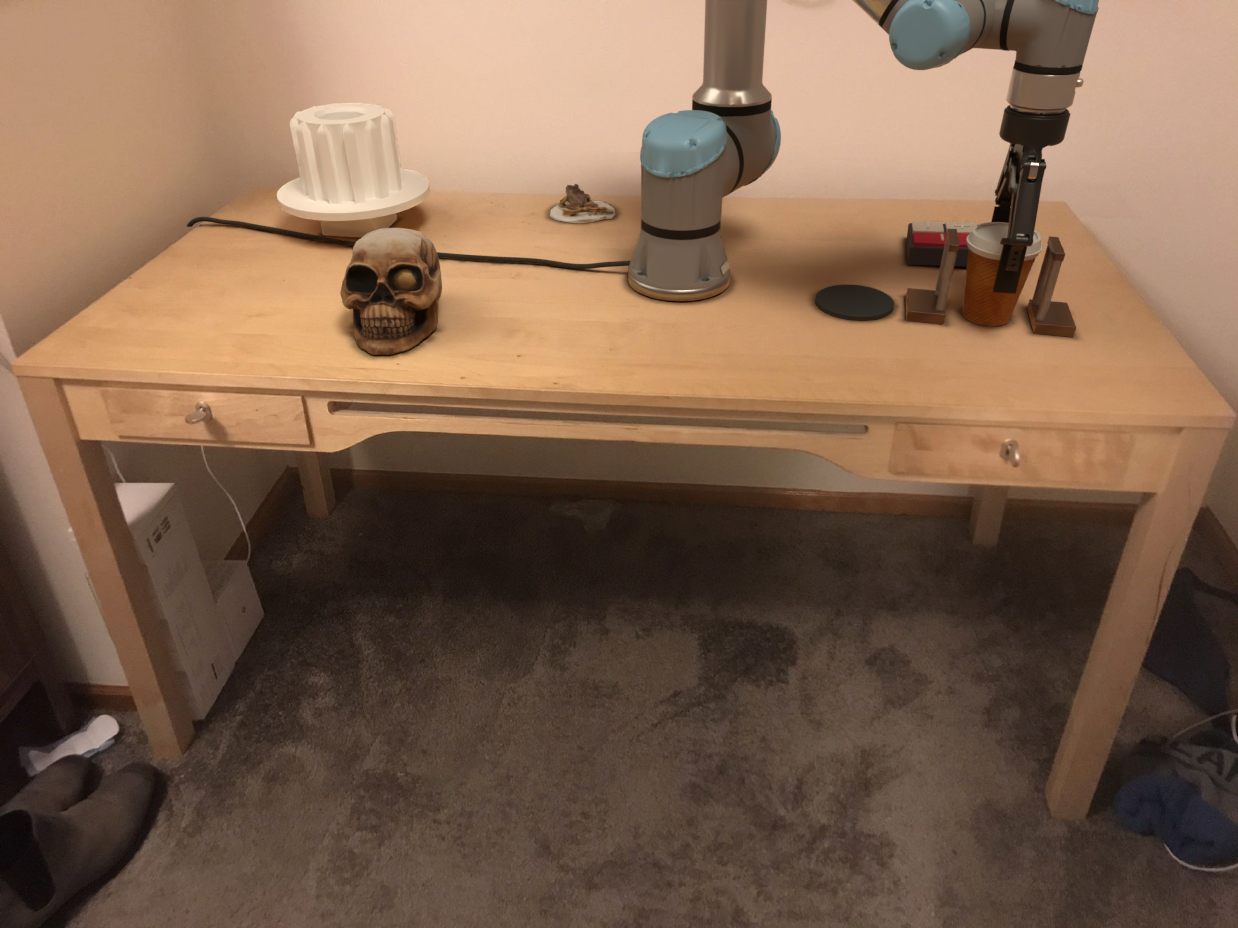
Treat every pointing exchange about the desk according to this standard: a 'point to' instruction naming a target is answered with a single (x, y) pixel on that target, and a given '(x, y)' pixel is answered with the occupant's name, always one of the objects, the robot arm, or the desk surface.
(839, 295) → the coaster
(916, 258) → the calculator
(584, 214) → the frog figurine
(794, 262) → the desk surface
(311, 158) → the ribbed cylinder on disc
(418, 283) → the brown skull
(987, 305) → the disposable coffee cup
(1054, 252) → the bookends
